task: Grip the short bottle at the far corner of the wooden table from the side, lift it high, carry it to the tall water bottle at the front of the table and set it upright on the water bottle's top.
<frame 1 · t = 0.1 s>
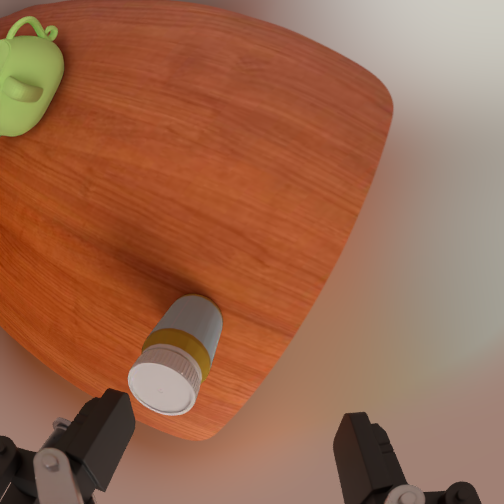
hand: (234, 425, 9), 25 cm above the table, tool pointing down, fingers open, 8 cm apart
bottle: (197, 316, 35), on the table
teapot: (29, 98, 29), on the table
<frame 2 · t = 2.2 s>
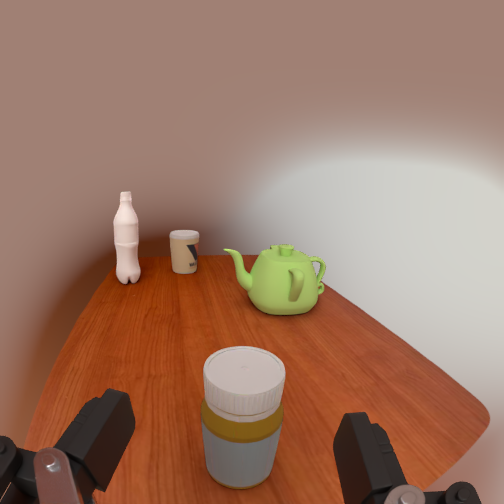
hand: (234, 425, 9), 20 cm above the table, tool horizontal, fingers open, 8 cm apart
bottle: (239, 467, 23), on the table
water bottle: (129, 281, 74), on the table
coffee cup: (184, 270, 88), on the table
teapot: (273, 304, 67), on the table
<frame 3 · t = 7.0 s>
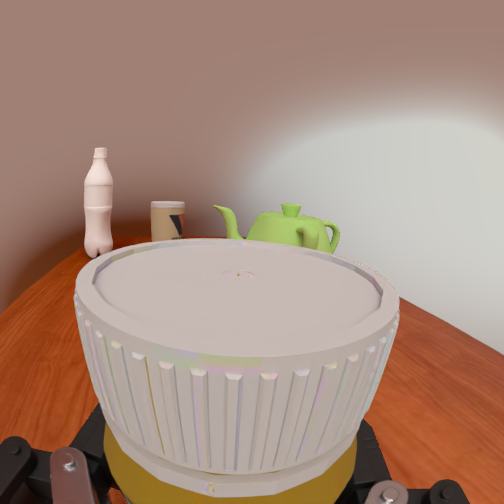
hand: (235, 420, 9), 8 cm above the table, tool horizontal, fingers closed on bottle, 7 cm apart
water bottle: (99, 256, 59), on the table
coffee cup: (166, 248, 73), on the table
teapot: (275, 280, 53), on the table
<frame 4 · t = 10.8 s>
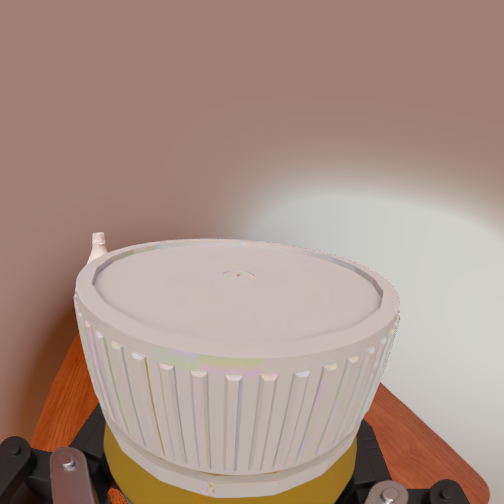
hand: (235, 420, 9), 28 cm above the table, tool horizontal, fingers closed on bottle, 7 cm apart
water bottle: (108, 330, 63), on the table
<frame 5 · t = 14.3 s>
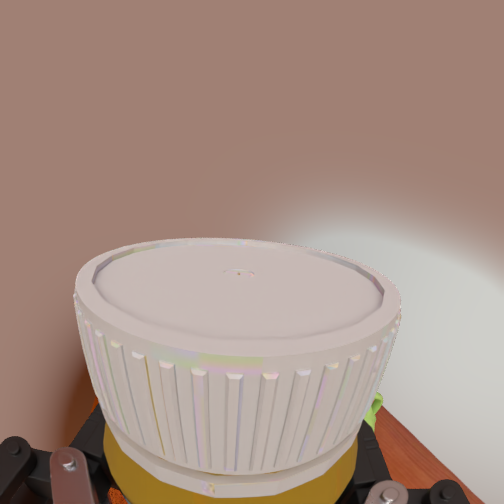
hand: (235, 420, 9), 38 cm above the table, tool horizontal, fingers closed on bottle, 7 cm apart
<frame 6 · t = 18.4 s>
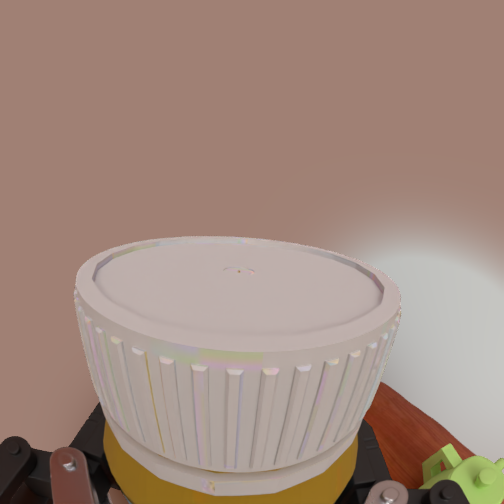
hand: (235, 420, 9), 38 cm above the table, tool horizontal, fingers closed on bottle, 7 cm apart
when the fingers open (33 cm above the table, at t = 21.7 s): bottle stays where it is, resting on water bottle.
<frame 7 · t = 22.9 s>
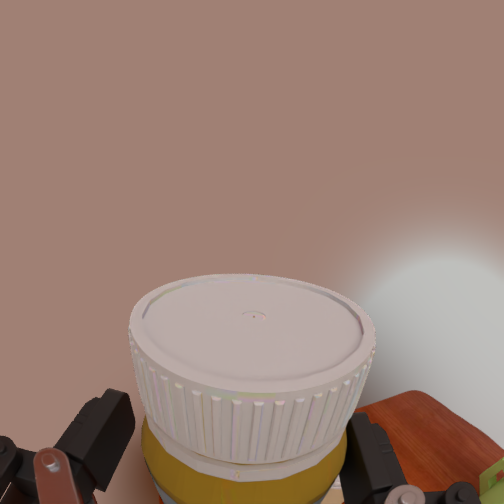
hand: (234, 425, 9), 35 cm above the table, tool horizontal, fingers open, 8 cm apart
coffee cup: (319, 496, 30), on the table
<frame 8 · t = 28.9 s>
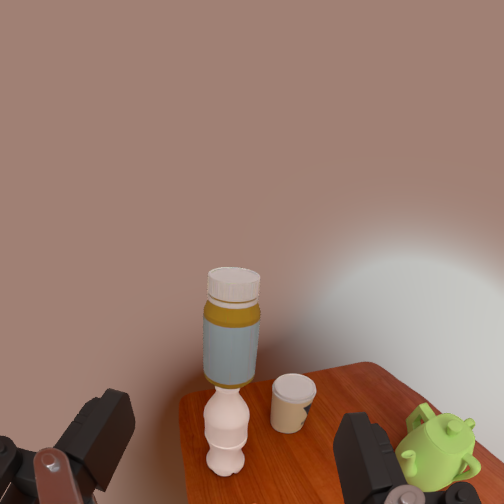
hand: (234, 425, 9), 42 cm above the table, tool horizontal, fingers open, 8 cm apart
bottle: (228, 376, 36), point 25 cm above the table, touching water bottle
water bottle: (225, 466, 42), on the table, touching bottle
coffee cup: (286, 422, 56), on the table
teapot: (418, 470, 36), on the table
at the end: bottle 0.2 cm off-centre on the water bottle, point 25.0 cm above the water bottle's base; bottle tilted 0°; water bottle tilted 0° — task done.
